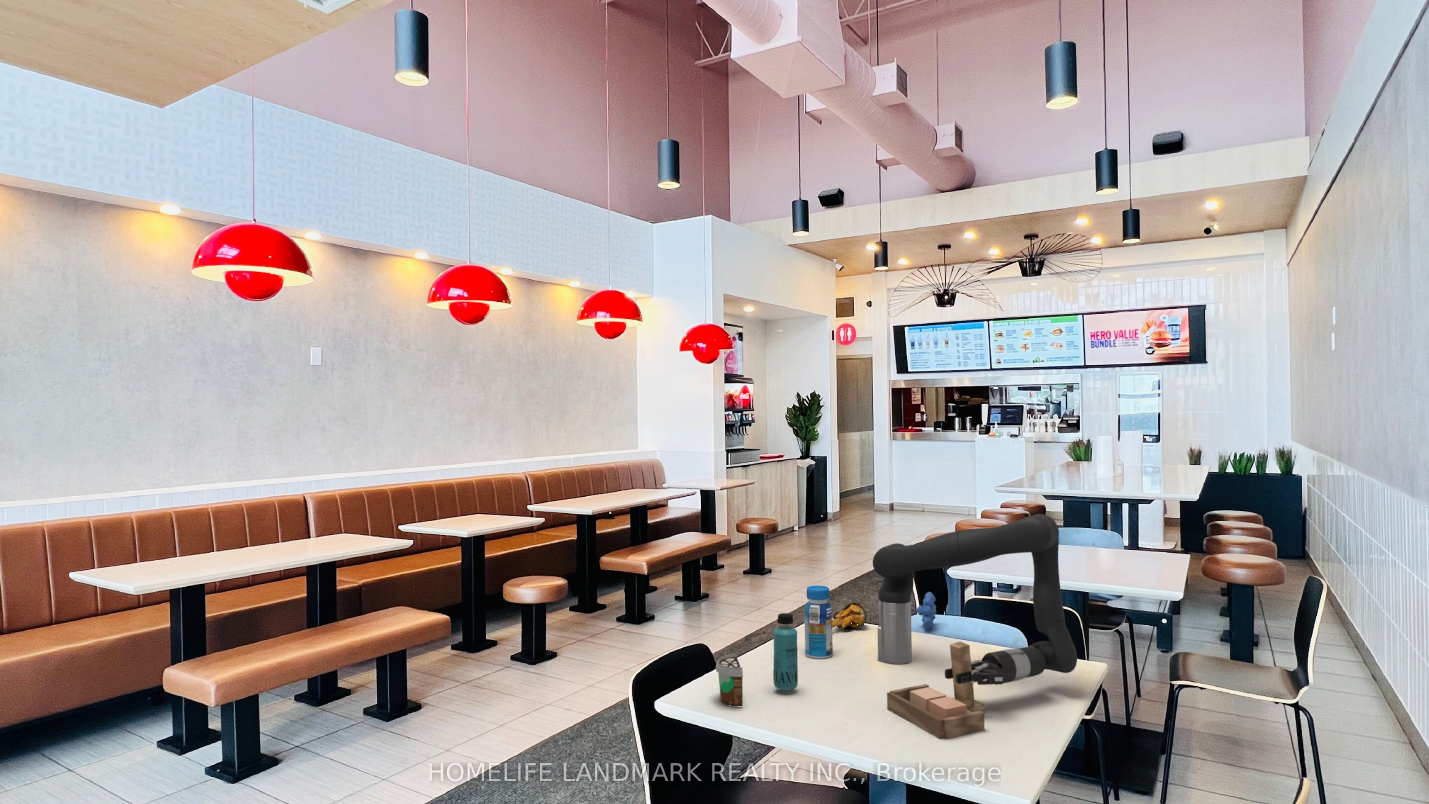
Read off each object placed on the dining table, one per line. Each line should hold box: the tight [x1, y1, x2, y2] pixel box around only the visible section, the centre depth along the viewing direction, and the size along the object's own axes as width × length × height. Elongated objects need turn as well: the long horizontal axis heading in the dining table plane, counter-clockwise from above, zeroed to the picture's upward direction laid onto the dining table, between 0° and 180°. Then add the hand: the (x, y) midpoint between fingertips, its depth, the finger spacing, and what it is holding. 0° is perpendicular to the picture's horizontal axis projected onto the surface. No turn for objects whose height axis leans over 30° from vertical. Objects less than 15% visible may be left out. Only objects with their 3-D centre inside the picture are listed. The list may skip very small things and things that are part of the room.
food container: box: [715, 653, 744, 707], centre depth 200 cm, size 12×6×10 cm, turn 5°
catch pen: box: [886, 683, 985, 740], centre depth 187 cm, size 12×20×4 cm, turn 24°
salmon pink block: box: [929, 696, 967, 719], centre depth 184 cm, size 6×6×5 cm
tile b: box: [910, 686, 947, 712], centre depth 190 cm, size 6×6×5 cm
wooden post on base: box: [949, 641, 986, 713], centre depth 190 cm, size 9×15×16 cm, turn 24°
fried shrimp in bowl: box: [832, 601, 868, 632], centre depth 261 cm, size 9×11×18 cm
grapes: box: [915, 591, 937, 632], centre depth 262 cm, size 12×7×12 cm, turn 155°
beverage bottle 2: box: [803, 584, 834, 660], centre depth 236 cm, size 8×8×20 cm
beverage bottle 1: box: [772, 612, 799, 691], centre depth 206 cm, size 6×7×20 cm
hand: (951, 676), depth 189 cm, fingers closed on wooden post on base, 3 cm apart
